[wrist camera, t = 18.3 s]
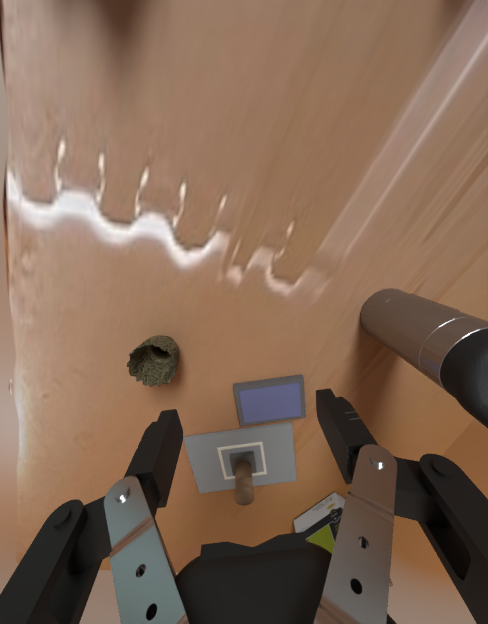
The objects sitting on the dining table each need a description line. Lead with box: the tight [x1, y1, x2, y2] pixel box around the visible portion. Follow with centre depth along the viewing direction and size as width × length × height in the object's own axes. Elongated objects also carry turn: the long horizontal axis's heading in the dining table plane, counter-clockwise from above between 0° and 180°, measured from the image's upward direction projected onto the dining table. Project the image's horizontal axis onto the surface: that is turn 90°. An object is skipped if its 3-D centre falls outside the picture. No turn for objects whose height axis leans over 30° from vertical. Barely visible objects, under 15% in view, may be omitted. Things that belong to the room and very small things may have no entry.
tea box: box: [293, 492, 392, 587], centre depth 54 cm, size 15×10×15 cm, turn 137°
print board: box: [183, 422, 297, 493], centre depth 52 cm, size 24×18×1 cm
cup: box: [127, 336, 179, 387], centre depth 38 cm, size 8×7×8 cm
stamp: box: [230, 451, 257, 505], centre depth 48 cm, size 6×6×8 cm
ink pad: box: [233, 375, 306, 426], centre depth 47 cm, size 14×10×2 cm
